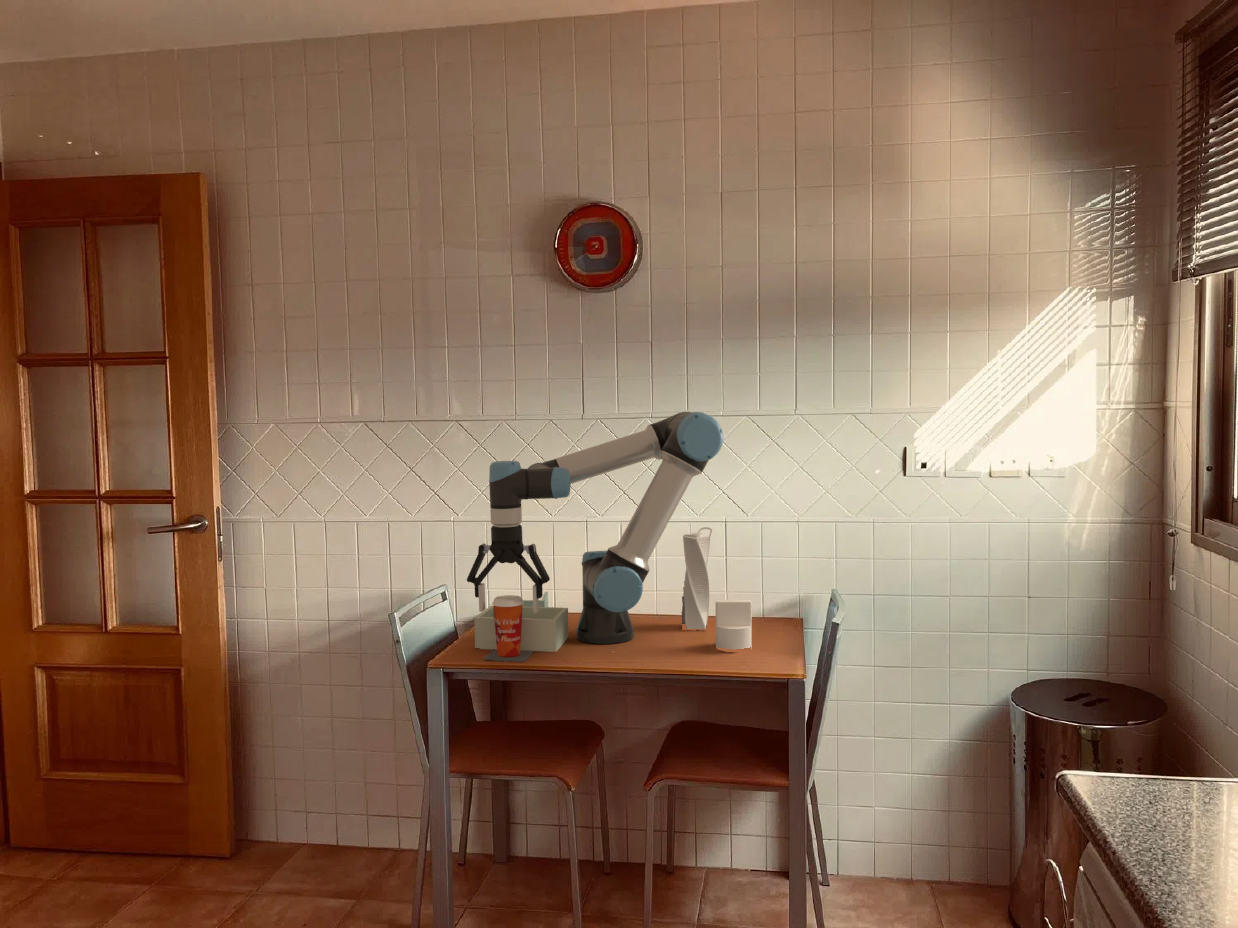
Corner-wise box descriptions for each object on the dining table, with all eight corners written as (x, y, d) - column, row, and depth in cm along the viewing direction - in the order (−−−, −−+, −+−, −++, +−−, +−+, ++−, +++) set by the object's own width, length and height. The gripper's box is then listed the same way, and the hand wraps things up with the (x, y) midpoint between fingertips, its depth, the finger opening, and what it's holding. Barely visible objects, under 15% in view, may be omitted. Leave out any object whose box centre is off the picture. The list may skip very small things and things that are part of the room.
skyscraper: (711, 625, 268) (711, 525, 266) (712, 633, 260) (712, 529, 258) (681, 625, 268) (681, 525, 266) (680, 632, 260) (680, 529, 258)
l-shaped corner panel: (548, 617, 278) (547, 591, 277) (544, 627, 266) (544, 600, 265) (506, 617, 278) (506, 591, 278) (501, 627, 266) (500, 601, 266)
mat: (532, 653, 240) (532, 650, 240) (524, 662, 232) (524, 659, 232) (493, 651, 242) (493, 649, 242) (484, 660, 234) (483, 657, 234)
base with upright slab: (716, 652, 239) (716, 604, 238) (714, 643, 248) (714, 597, 247) (753, 652, 239) (753, 604, 238) (749, 643, 248) (749, 597, 247)
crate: (568, 637, 255) (568, 607, 254) (556, 651, 241) (555, 620, 240) (491, 634, 258) (491, 605, 258) (475, 648, 244) (474, 617, 244)
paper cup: (489, 658, 233) (488, 600, 232) (497, 649, 241) (496, 594, 240) (521, 658, 233) (520, 601, 231) (528, 650, 240) (527, 594, 239)
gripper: (560, 522, 236) (562, 608, 238) (462, 522, 240) (465, 606, 242) (552, 527, 229) (555, 615, 230) (452, 526, 233) (455, 613, 234)
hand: (509, 611), depth 236 cm, fingers open, 13 cm apart
